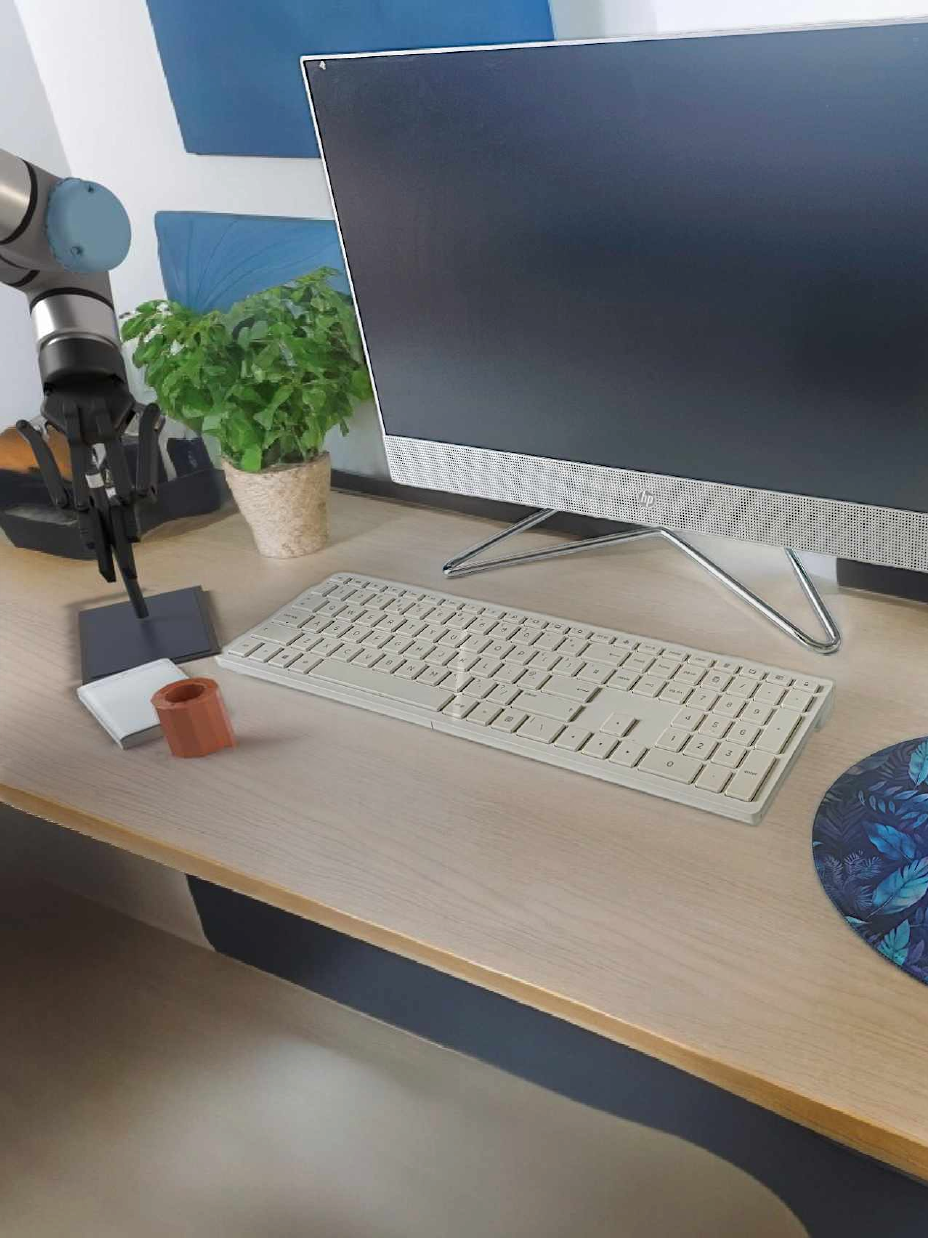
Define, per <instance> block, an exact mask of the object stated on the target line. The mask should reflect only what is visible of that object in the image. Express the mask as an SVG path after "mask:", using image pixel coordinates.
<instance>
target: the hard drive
mask: <svg viewBox="0 0 928 1238" xmlns="http://www.w3.org/2000/svg"><path fill="white" fill-rule="evenodd" d="M190 678H191V677H189V676H188V675H187V674H186V673H184V671H182V670H181V669H180V668H179V667H178V666H177V664H176V665H175V664H174V663H172V662H171V661H170V660H169V659H168V658H164V659H160V660H157V661H154V662H151V663H148V664H145V665H142V666H139V667H136V668H133V669H130V670H127V671H124V672H121V673H118V674H115V675H112V676H109V677H106V678H104V679H101V680H98V681H95V682H92V683H89V684H86V685H84V686H83V685H81V686H79V687H78V688H77V689H76V693H77V696H78V698H79V699H80V701H81V702H82V703H83V704H84V705H85V707H86V708H87V709H88V710H89V712H90V713H91V714H92V715H93V716H94V717H95V718H96V720H97V721H98V722H99V724H100V725H101V726H102V727H103V728H104V729H105V730H106V731H107V733H108V734H109V735H110V736H111V738H112V739H113V740H114V741H115V742H116V743H117V745H118V746H119V747H120V749H121V750H122V751H124V750H127V749H130V748H132V747H135V746H138V745H141V744H143V743H146V742H149V741H151V740H154V739H157V738H159V737H163V735H162V732H161V729H160V727H159V724H158V721H157V718H156V716H155V713H154V710H153V707H152V704H151V702H150V701H151V699H152V697H153V695H154V693H155V692H157V691H158V690H160V689H161V688H163V687H164V686H166V685H167V684H170V683H173V682H176V681H179V680H182V679H190Z"/></svg>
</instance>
